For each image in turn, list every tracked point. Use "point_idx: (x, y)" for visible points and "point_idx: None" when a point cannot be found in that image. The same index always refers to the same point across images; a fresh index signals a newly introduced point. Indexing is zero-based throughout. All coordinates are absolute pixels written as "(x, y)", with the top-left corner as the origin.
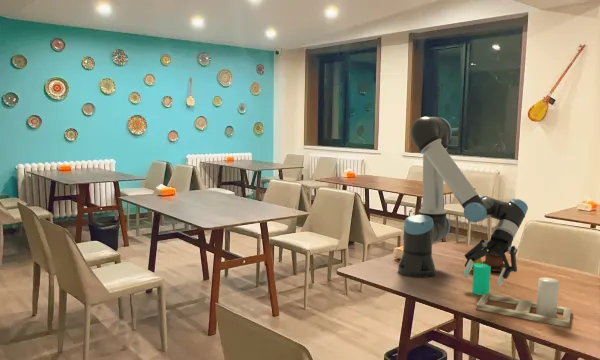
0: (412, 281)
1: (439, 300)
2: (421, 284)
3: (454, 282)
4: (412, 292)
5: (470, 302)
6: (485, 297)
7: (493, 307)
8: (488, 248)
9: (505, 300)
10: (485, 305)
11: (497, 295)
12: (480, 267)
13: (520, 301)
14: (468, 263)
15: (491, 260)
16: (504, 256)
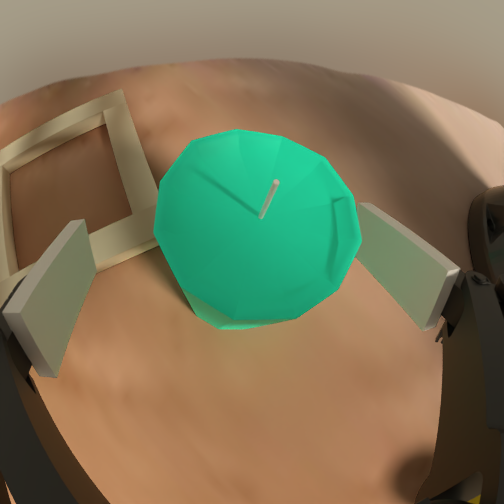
0: (444, 163)
1: (262, 74)
2: (417, 157)
3: None
4: (358, 81)
5: (175, 128)
6: (131, 174)
7: (63, 117)
8: (489, 502)
9: None
10: (92, 107)
11: (102, 253)
12: (224, 134)
13: (4, 273)
14: (422, 243)
15: None
16: (21, 492)
